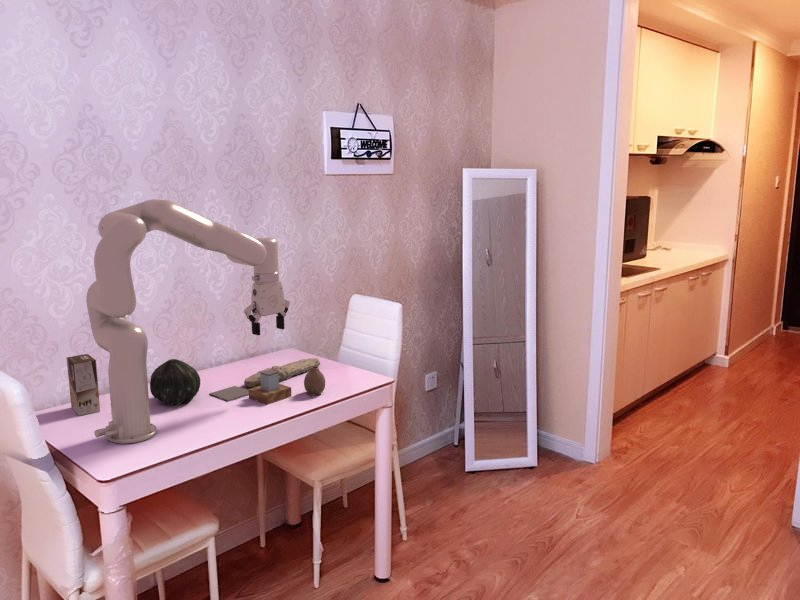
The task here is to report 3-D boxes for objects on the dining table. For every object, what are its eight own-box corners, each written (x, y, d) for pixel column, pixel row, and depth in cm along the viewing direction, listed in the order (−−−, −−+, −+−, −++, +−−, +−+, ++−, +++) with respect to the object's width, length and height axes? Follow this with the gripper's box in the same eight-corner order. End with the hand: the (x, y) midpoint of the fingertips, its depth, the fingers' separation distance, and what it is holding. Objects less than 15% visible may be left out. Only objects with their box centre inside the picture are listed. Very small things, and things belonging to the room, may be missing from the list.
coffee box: (101, 411, 194) (96, 359, 191) (78, 416, 190) (73, 363, 187) (92, 403, 201) (88, 353, 198) (70, 407, 197) (65, 356, 194)
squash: (184, 372, 215) (157, 346, 204) (216, 381, 207) (191, 355, 197) (158, 408, 208) (130, 384, 197) (191, 419, 201) (163, 394, 190)
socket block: (267, 404, 201) (266, 395, 200) (248, 398, 206) (248, 389, 206) (291, 396, 209) (291, 387, 208) (273, 390, 214) (272, 381, 214)
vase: (319, 397, 207) (319, 371, 206) (300, 395, 210) (299, 369, 208) (328, 391, 214) (328, 365, 212) (310, 388, 216) (309, 363, 214)
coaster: (228, 401, 203) (228, 400, 203) (209, 394, 210) (209, 393, 210) (253, 393, 211) (253, 392, 211) (234, 386, 217) (234, 385, 217)
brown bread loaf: (327, 370, 241) (307, 367, 247) (327, 356, 241) (307, 353, 246) (258, 391, 213) (237, 386, 218) (257, 375, 212) (236, 371, 218)
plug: (269, 400, 205) (268, 374, 203) (261, 397, 207) (260, 372, 206) (279, 397, 208) (278, 371, 206) (271, 394, 210) (270, 369, 209)
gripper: (251, 282, 191) (254, 339, 195) (295, 275, 204) (297, 328, 208) (236, 280, 196) (238, 335, 199) (279, 273, 209) (281, 324, 212)
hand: (268, 331), depth 204 cm, fingers open, 9 cm apart
